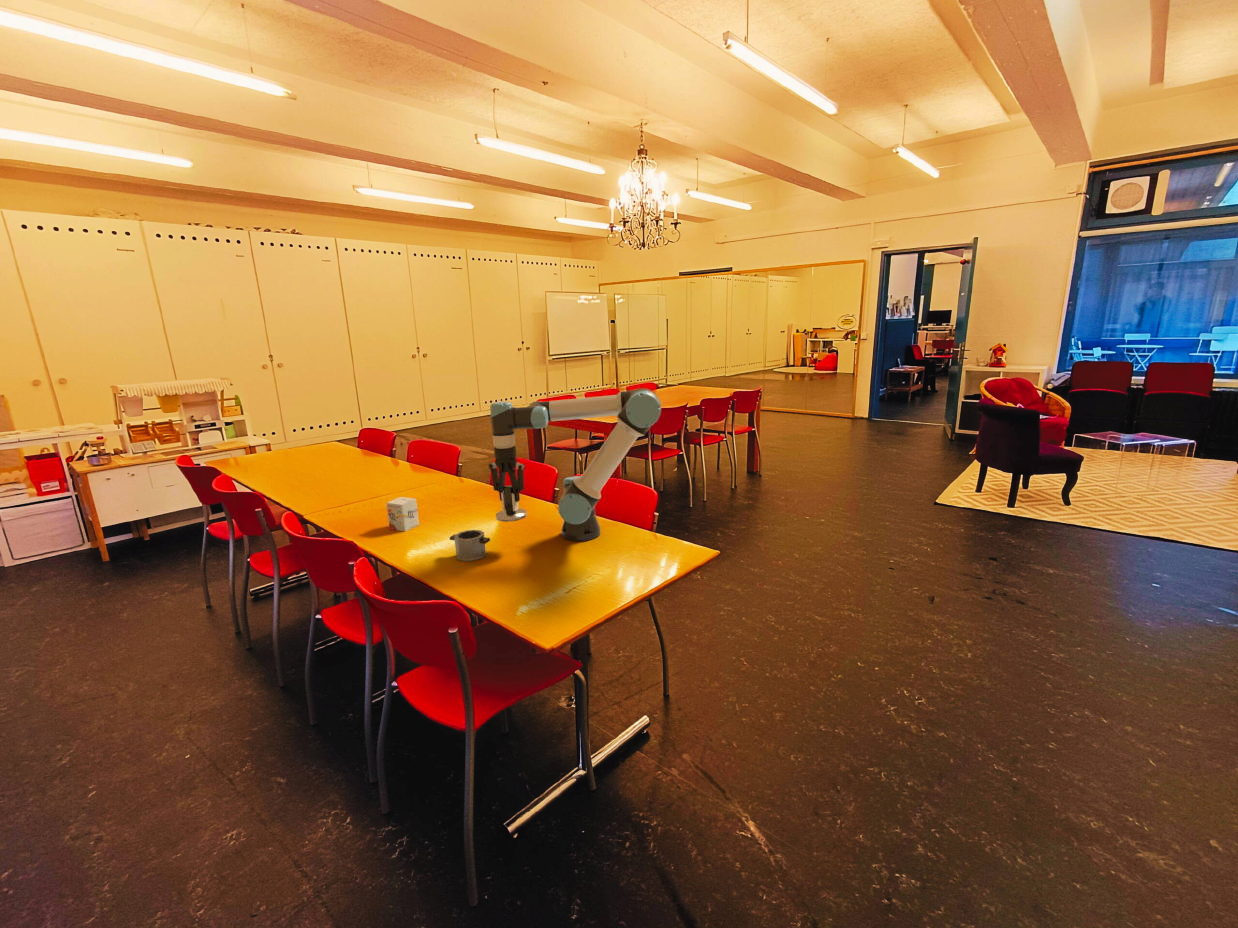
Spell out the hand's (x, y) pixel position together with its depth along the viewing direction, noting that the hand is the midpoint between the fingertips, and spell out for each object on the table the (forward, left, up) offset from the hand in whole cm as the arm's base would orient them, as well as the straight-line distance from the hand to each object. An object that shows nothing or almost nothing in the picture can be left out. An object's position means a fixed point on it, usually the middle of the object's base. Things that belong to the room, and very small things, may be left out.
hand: (510, 509), depth 194 cm
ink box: (+56, -9, -15) cm, 59 cm away
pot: (+11, +10, -15) cm, 21 cm away
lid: (0, 0, -3) cm, 3 cm away
